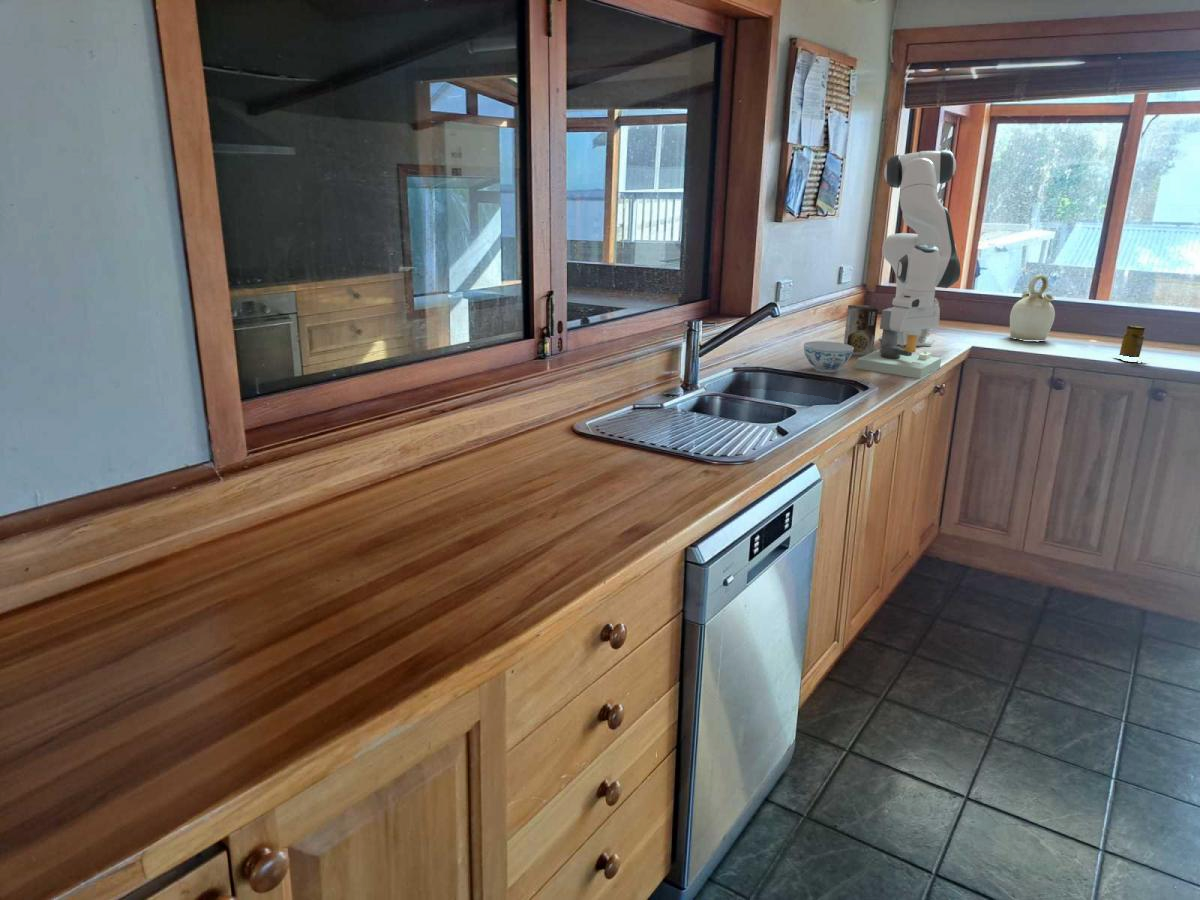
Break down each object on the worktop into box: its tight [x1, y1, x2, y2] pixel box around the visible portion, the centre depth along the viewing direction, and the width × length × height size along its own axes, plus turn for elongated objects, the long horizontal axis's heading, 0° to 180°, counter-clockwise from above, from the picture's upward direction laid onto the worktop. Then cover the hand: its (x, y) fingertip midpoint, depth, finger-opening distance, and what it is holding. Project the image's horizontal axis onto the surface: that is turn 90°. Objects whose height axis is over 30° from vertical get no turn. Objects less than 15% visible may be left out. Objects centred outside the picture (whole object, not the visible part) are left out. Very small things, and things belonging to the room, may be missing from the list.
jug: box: [1009, 274, 1056, 341], centre depth 328 cm, size 15×16×25 cm
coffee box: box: [843, 304, 879, 356], centre depth 289 cm, size 9×6×16 cm
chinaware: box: [803, 340, 854, 373], centre depth 263 cm, size 15×15×8 cm
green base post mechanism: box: [855, 307, 942, 379], centre depth 269 cm, size 22×20×17 cm
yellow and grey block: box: [881, 334, 918, 358], centre depth 269 cm, size 12×6×8 cm, turn 34°
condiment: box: [1118, 324, 1146, 358], centre depth 295 cm, size 7×8×12 cm
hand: (911, 343), depth 265 cm, fingers open, 8 cm apart
